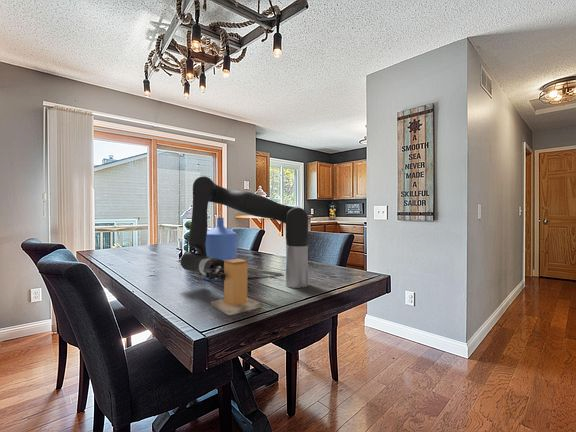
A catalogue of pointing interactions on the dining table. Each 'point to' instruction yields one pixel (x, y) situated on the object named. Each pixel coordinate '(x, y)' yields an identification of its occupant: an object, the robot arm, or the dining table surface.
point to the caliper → (261, 271)
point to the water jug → (221, 243)
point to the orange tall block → (235, 281)
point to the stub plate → (235, 309)
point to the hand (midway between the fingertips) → (235, 275)
